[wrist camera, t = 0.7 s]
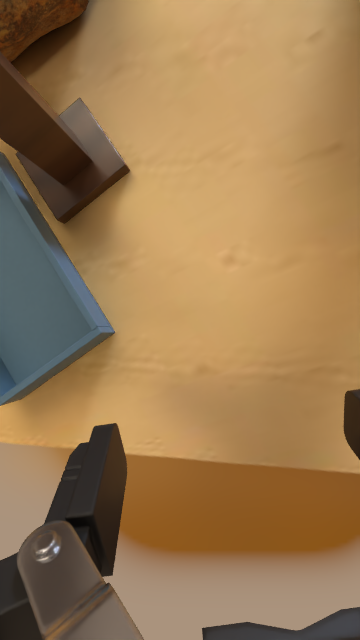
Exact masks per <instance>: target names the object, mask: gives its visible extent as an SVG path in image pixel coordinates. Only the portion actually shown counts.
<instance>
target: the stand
mask: <svg viewBox="0 0 360 640" xmlns="http://www.w3.org/2000/svg"><path fill="white" fill-rule="evenodd" d="M0 138H1V139H2V140H4V141H5V142H6V143H8V144H9V145H10V146H12V147H13V148H14V149H15V150H17V151H18V152H17V153H16V155H17V157H18V159H19V160H20V162H21V163H22V165H23V166H24V168H25V170H26V171H27V173H28V174H29V176H30V178H31V179H32V181H33V182H34V184H35V186H36V187H37V189H38V190H39V192H40V194H41V195H42V197H43V198H44V200H45V202H46V203H47V205H48V206H49V208H50V209H51V211H52V213H53V214H54V216H55V217H56V219H57V220H58V221H60V222H62V223H66V222H67V221H68V220H69V219H71V218H72V217H73V216H74V215H76V214H77V213H78V212H79V211H81V210H82V209H83V208H84V207H86V206H87V205H88V204H89V203H90V202H92V201H93V200H94V199H95V198H97V197H98V196H99V195H100V194H102V193H103V192H104V191H105V190H107V189H108V188H109V187H110V186H112V185H113V184H114V183H115V182H117V181H118V180H119V179H120V178H122V177H123V176H124V175H125V174H127V173H128V172H129V171H130V169H129V168H128V166H127V165H126V163H125V162H124V160H123V159H122V158H121V156H120V155H119V153H118V152H117V150H116V149H115V147H114V146H113V144H112V143H111V141H110V140H109V138H108V137H107V136H106V134H105V133H104V131H103V130H102V128H101V127H100V125H99V124H98V122H97V121H96V119H95V118H94V117H93V115H92V114H91V112H90V111H89V109H88V108H87V106H86V105H85V104H84V102H83V101H82V100H81V98H79V99H77V100H76V101H75V102H74V103H73V104H72V105H71V106H69V107H68V108H67V109H66V110H65V111H64V112H63V113H61V114H60V115H59V116H58V114H57V113H56V112H55V111H54V110H53V109H52V108H51V107H50V106H49V105H48V103H47V102H46V101H45V100H44V99H43V98H42V97H41V96H40V95H39V94H38V92H37V91H36V90H35V89H34V88H33V87H32V86H31V85H30V84H29V83H28V82H27V80H26V79H25V78H24V77H23V76H22V75H21V74H20V73H19V72H18V71H17V69H16V68H15V67H14V66H13V65H12V64H11V63H10V62H9V61H8V60H7V58H6V57H5V56H4V55H3V54H2V53H1V52H0Z"/></svg>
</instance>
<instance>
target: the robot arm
mask: <svg viewBox="0 0 360 640" xmlns="http://www.w3.org/2000/svg"><path fill="white" fill-rule="evenodd" d="M344 434H345V437H346V440H347V442H348V444H349V446H350V447H351V449H352V450H353V452H354V453H355V454H356V456H357V457H358V458H359V460H360V389H358V390H351V391H347V392H346V394H345V404H344ZM126 478H127V463H126V456H125V452H124V448H123V444H122V440H121V436H120V432H119V428H118V425H117V424H116V423H113V424H106V425H99V426H95V427H94V428H93V431H92V434H91V437H90V440H89V442H87V443H80V444H79V445H78V446H77V448H76V449H75V450H74V451H73V452H72V454H71V455H70V457H69V459H68V462H67V465H66V467H65V471H64V472H63V475H62V478H61V482H60V483H59V486H58V488H57V491H56V494H55V496H54V499H53V501H52V504H51V507H50V510H49V513H48V515H47V518H46V520H45V523H44V525H42V526H40V527H39V528H37V529H36V530H34V531H33V532H32V533H31V534H30V535H29V536H28V537H27V539H26V540H25V541H24V542H23V544H22V546H21V548H20V549H19V552H17V553H16V554H14V555H12V556H10V557H7V558H5V559H3V560H1V561H0V640H144V639H143V637H142V635H141V634H140V632H139V630H138V629H137V627H136V625H135V624H134V622H133V620H132V618H131V617H130V615H129V613H128V612H127V610H126V608H125V607H124V605H123V603H122V602H121V600H120V599H119V597H118V595H117V593H116V592H115V590H114V589H113V587H112V586H111V584H110V583H107V584H106V583H105V581H104V579H103V578H102V577H104V576H111V575H113V568H114V561H115V555H116V548H117V540H118V534H119V527H120V520H121V513H122V506H123V499H124V492H125V485H126ZM202 632H203V640H360V607H357V608H349V609H342V610H339V611H337V612H335V613H334V614H331V615H330V616H328V617H326V618H324V619H322V620H320V621H318V622H316V623H314V624H312V625H310V626H308V627H306V628H304V629H302V630H298V631H295V630H288V629H283V628H277V627H272V626H266V625H260V624H255V623H250V622H244V623H236V624H229V625H221V626H214V627H206V628H202Z"/></svg>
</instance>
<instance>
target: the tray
mask: <svg viewBox="0 0 360 640" xmlns="http://www.w3.org/2000/svg"><path fill="white" fill-rule="evenodd" d="M114 333H115V331H114V330H113V328H112V327H111V325H110V323H109V322H108V320H107V318H106V317H105V315H104V314H103V312H102V310H101V309H100V307H99V306H98V304H97V302H96V301H95V299H94V298H93V296H92V294H91V293H90V291H89V290H88V288H87V286H86V285H85V283H84V282H83V280H82V278H81V277H80V275H79V273H78V272H77V270H76V269H75V267H74V265H73V264H72V262H71V261H70V259H69V257H68V256H67V254H66V253H65V251H64V249H63V248H62V246H61V245H60V243H59V241H58V240H57V238H56V236H55V235H54V233H53V232H52V230H51V228H50V227H49V225H48V224H47V222H46V220H45V219H44V217H43V216H42V214H41V212H40V211H39V209H38V208H37V206H36V204H35V203H34V201H33V199H32V198H31V196H30V195H29V193H28V191H27V190H26V188H25V187H24V185H23V183H22V182H21V180H20V179H19V177H18V175H17V174H16V172H15V171H14V169H13V167H12V166H11V164H10V163H9V161H8V159H7V158H6V156H5V155H4V154H3V153H2V152H0V406H1V405H4V404H7V403H11V402H14V401H17V400H21V399H22V398H24V397H25V396H26V395H28V394H29V393H31V392H32V391H33V390H35V389H36V388H38V387H39V386H41V385H42V384H43V383H45V382H46V381H48V380H49V379H50V378H52V377H53V376H55V375H56V374H57V373H59V372H60V371H62V370H63V369H64V368H66V367H67V366H69V365H70V364H71V363H73V362H74V361H76V360H77V359H79V358H80V357H81V356H83V355H84V354H86V353H87V352H88V351H90V350H91V349H93V348H94V347H95V346H97V345H98V344H100V343H101V342H102V341H104V340H105V339H107V338H108V337H109V336H111V335H112V334H114Z"/></svg>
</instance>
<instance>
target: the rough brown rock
mask: <svg viewBox="0 0 360 640" xmlns="http://www.w3.org/2000/svg"><path fill="white" fill-rule="evenodd" d="M88 1H89V0H0V52H1V53H2V54H3V55H4V56H5V57H6V58H7V60H8V61H9V62H12V61H13V60H15V59H16V58H17V57H18V55H19V54H21V53H22V52H23V51H24V50H25V49H26V48H27V47H28V46H29V45H30V44H32V43H33V42H34V41H36V40H37V39H38V38H40V37H41V36H43V35H45V34H47V33H48V32H50V31H52V30H54V29H56V28H58V27H61V26H63V25H65V24H67V23H69V22H71V21H72V20H74V19H75V18H77V17H78V16H80V15H81V13H82V12H83V11H85V9H86V7H87V4H88Z"/></svg>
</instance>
